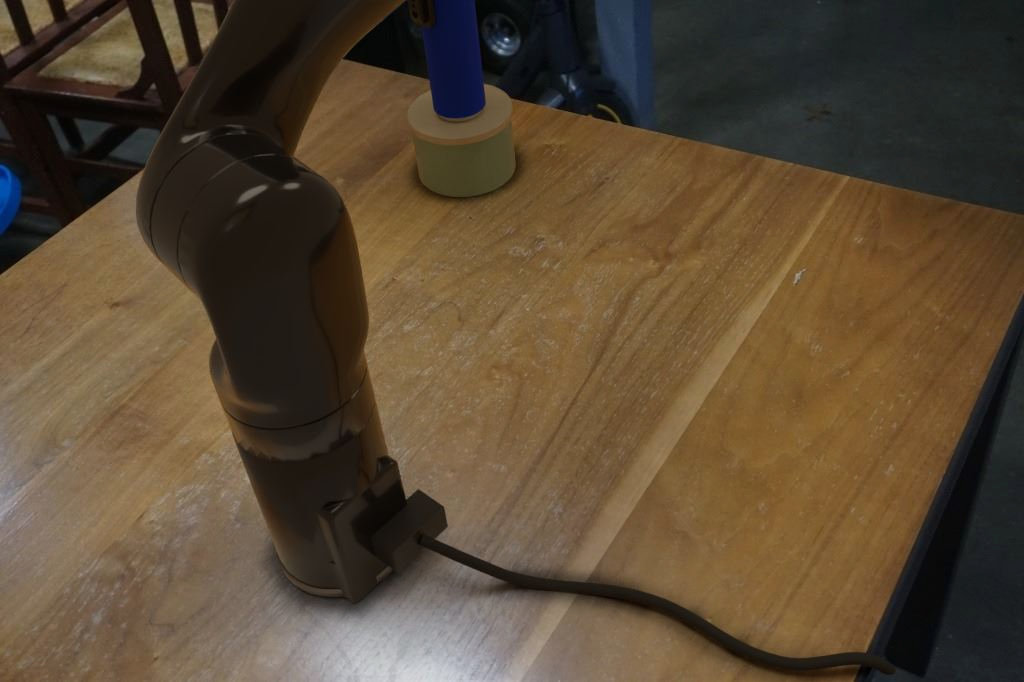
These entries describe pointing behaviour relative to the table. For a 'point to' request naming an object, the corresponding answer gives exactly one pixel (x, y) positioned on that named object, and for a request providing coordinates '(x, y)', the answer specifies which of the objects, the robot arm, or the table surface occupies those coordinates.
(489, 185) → the cookie tin
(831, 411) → the table surface
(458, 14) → the beverage can
